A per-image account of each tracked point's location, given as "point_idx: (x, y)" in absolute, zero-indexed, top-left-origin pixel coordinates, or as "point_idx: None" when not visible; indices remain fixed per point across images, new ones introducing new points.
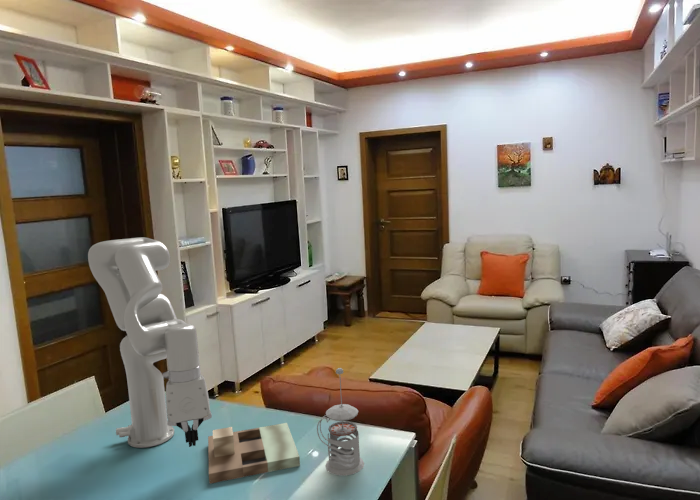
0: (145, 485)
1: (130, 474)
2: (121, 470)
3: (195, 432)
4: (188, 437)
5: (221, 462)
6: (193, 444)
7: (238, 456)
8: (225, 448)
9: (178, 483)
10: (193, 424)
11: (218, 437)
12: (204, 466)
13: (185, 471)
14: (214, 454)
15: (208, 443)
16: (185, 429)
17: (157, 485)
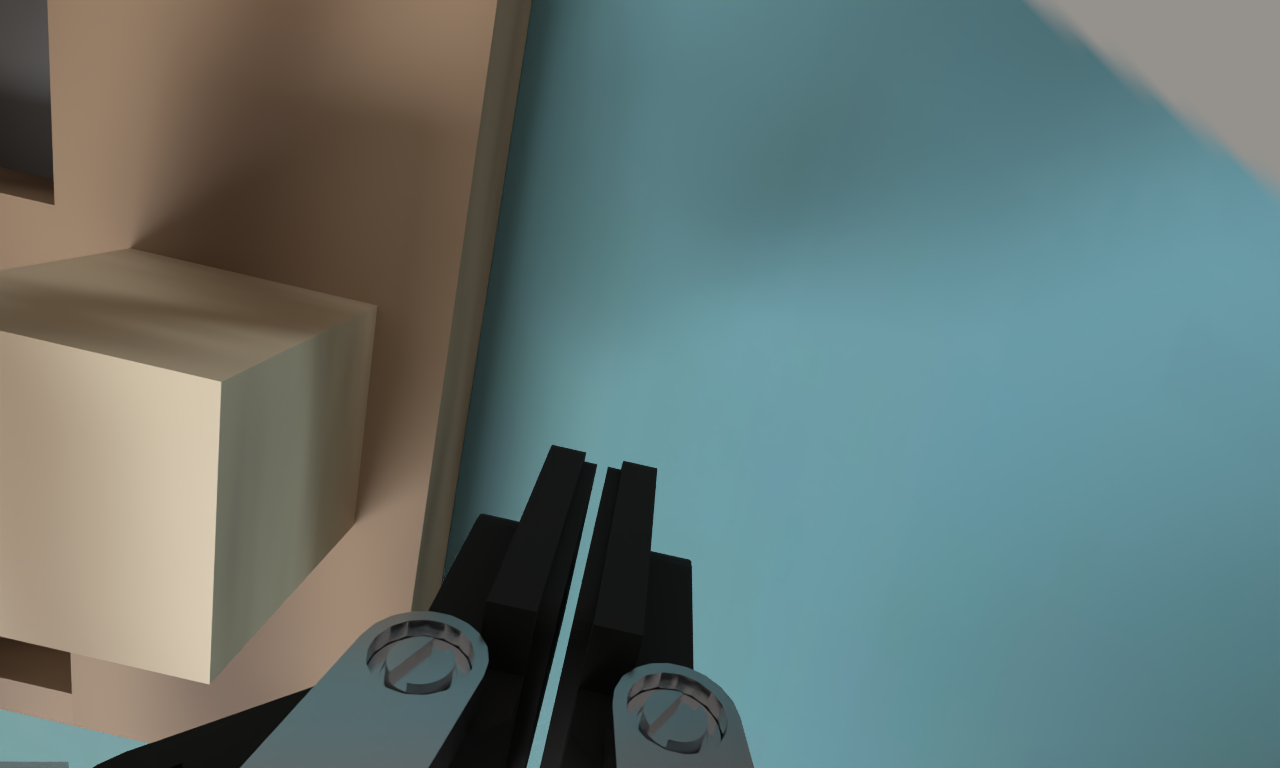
0: (1161, 343)
1: (1208, 636)
2: (1250, 749)
3: (471, 609)
4: (642, 550)
5: (310, 116)
6: (580, 458)
7: (85, 143)
8: (173, 289)
9: (852, 171)
10: (426, 750)
11: (119, 369)
12: (527, 361)
13: (725, 377)
14: (358, 314)
15: None
16: (676, 724)
17: (1057, 267)
